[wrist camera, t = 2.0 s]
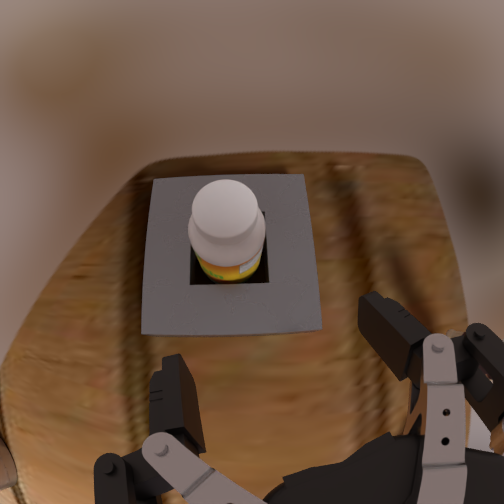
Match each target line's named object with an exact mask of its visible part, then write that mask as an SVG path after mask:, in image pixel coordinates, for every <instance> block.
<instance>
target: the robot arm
mask: <svg viewBox="0 0 504 504" xmlns="http://www.w3.org/2000/svg"><path fill="white" fill-rule="evenodd" d="M358 327H359V330H360V332H361V334H362V335H363V336H364V338H365V339H366V340H367V341H368V342H369V344H370V345H371V346H372V347H373V349H374V350H375V351H376V352H377V353H378V355H379V356H380V357H381V358H382V360H383V361H384V362H385V363H386V365H387V366H388V367H389V368H390V370H391V371H392V372H393V373H394V375H395V376H396V377H397V378H398V380H399V381H402V380H404V379H405V378H407V377H409V379H410V380H411V382H410V389H409V403H408V414H407V421H406V424H405V427H404V431H403V435H397V436H392V435H391V433H390V432H387V433H386V434H384V435H382V436H380V437H378V438H376V439H374V440H372V441H370V442H368V443H366V444H365V445H364V446H362V447H361V448H360V449H359V450H357V451H356V452H355V453H354V454H352V455H351V456H350V457H348V458H347V459H346V460H344V461H343V462H340V463H335V464H330V465H324V466H318V467H311V468H308V469H305V470H302V471H300V472H297V473H294V474H291V475H287V476H284V477H283V480H284V482H283V483H282V484H280V485H278V486H277V487H275V488H274V489H273V490H272V491H270V492H269V493H268V494H267V495H266V496H265V498H264V499H263V500H261V499H259V498H257V497H256V496H254V495H252V494H251V493H249V492H248V491H246V490H245V489H243V488H241V487H240V486H238V485H237V484H235V483H234V482H232V481H231V480H230V479H228V478H227V477H225V476H224V475H222V474H221V473H220V472H218V471H217V470H215V469H213V468H211V467H210V466H208V465H207V464H206V463H205V462H203V461H202V460H201V459H199V454H200V453H205V452H206V448H205V443H204V437H203V431H202V425H201V419H200V412H199V406H198V399H197V392H196V386H195V382H194V379H193V377H192V375H191V373H190V371H189V369H188V367H187V366H186V364H185V362H184V360H183V358H182V356H181V355H180V354H175V355H171V356H167V357H163V358H162V370H161V371H156V372H154V374H153V376H152V378H151V380H150V394H149V401H150V403H149V422H150V434H149V437H148V438H147V439H146V440H145V441H144V443H143V446H142V448H141V449H139V450H137V451H135V452H133V453H130V454H128V455H126V456H123V457H120V456H119V455H117V454H114V453H106V454H103V455H102V456H100V457H99V458H98V459H97V461H96V462H95V465H94V495H95V504H162V498H161V494H163V493H165V492H168V491H170V490H172V489H176V490H177V491H178V492H179V493H180V494H181V495H182V497H183V498H184V499H185V500H186V501H187V502H188V503H189V504H504V342H503V341H502V340H501V339H500V338H499V337H498V336H497V335H496V334H495V333H494V332H492V331H491V330H490V329H489V328H488V327H487V326H486V325H484V324H481V323H473V324H471V325H469V326H468V327H467V329H466V332H465V335H461V336H457V337H454V338H449V337H447V336H446V335H443V334H438V333H436V334H432V333H430V332H429V331H428V330H427V329H426V328H425V327H424V326H423V325H422V324H421V323H420V322H419V321H418V320H417V319H416V318H415V317H414V316H412V315H410V313H409V312H408V311H407V310H405V308H404V307H403V306H402V305H400V304H399V303H398V302H397V301H395V300H392V299H390V298H388V297H387V298H385V299H384V298H383V297H382V296H381V295H380V294H379V293H378V292H376V291H373V292H370V293H368V294H365V295H363V296H361V297H360V298H359V305H358ZM479 365H481V366H482V367H483V368H484V369H485V370H486V372H487V373H488V374H489V375H490V376H491V377H492V380H493V383H492V382H491V381H490V380H489V379H488V377H487V376H486V375H485V374H484V373H483V372H482V371H481V369H480V368H479ZM465 399H466V400H467V401H468V402H469V404H470V405H471V406H472V408H473V409H474V410H475V412H476V413H477V414H478V416H479V417H480V418H481V420H482V421H483V423H484V424H485V425H486V426H487V428H488V430H489V431H490V432H491V436H490V439H491V442H490V445H489V446H490V449H491V450H493V451H494V453H492V452H486V451H481V450H476V449H471V448H466V447H465ZM16 481H17V472H16V468H15V465H14V462H13V459H12V457H11V455H10V453H9V451H8V449H7V447H6V445H5V444H4V442H3V441H2V439H1V438H0V491H1V490H4V489H6V488H9V487H11V486H14V485H15V484H16Z"/></svg>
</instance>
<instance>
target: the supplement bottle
mask: <svg viewBox="0 0 504 504" xmlns="http://www.w3.org/2000/svg"><path fill="white" fill-rule="evenodd" d="M265 232H266V225H265V220H264V216H263V214H262V212H261V210H260V209H259V207H258V203H257V199H256V197H255V195H254V193H253V192H252V191H251V190H250V189H249V188H248V187H247V186H246V185H244V184H243V183H241V182H238V181H235V180H228V179H224V180H217V181H214V182H211V183H209V184H207V185H206V186H204V187H203V188H202V189H201V190H200V191H199V192H198V193H197V195H196V196H195V198H194V201H193V204H192V215H191V217H190V220H189V224H188V235H189V239H190V242H191V245H192V247H193V249H194V252H195V254H196V256H197V258H198V261H199V263H200V265H201V268H202V270H203V272H204V273H205V275H206V276H207V277H208V278H209V279H210V280H211V281H213V282H215V283H216V284H242V283H244V282H246V281H247V280H249V279H250V278H251V277H252V276H253V275H254V274H255V272H256V270H257V268H258V265H259V262H260V258H261V253H262V248H263V243H264V239H265Z"/></svg>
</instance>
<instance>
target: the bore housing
mask: <svg viewBox="0 0 504 504" xmlns="http://www.w3.org/2000/svg"><path fill="white" fill-rule="evenodd" d="M224 179H228V180H235V181H238V182H241V183H243V184H244V185H246V186H247V187H248V188H249V189H250V190H251V191H252V192H253V193H254V195H255V197H256V199H257V203H258V207H259V209H260V210H261V212H262V214H263V216H264V220H265V225H266V232H265V239H264V243H263V246H264V263H265V280H266V283H252V284H218V285H196V254H195V252H194V249H193V247H192V245H191V242H190V239H189V235H188V224H189V220H190V217H191V215H192V204H193V201H194V198H195V196H196V195H197V193H198V192H199V191H200V190H201V189H202V188H203V187H204V186H206V185H207V184H209V183H211V182H214V181H217V180H224ZM318 330H322V319H321V307H320V296H319V286H318V277H317V267H316V259H315V250H314V242H313V235H312V227H311V220H310V213H309V206H308V199H307V193H306V187H305V180H304V174H237V175H208V176H189V177H173V178H160V179H154V181H153V188H152V195H151V202H150V210H149V219H148V227H147V237H146V248H145V260H144V274H143V293H142V332H141V334H144V335H149V336H161V337H235V336H261V335H280V334H294V333H307V332H315V331H318Z"/></svg>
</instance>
